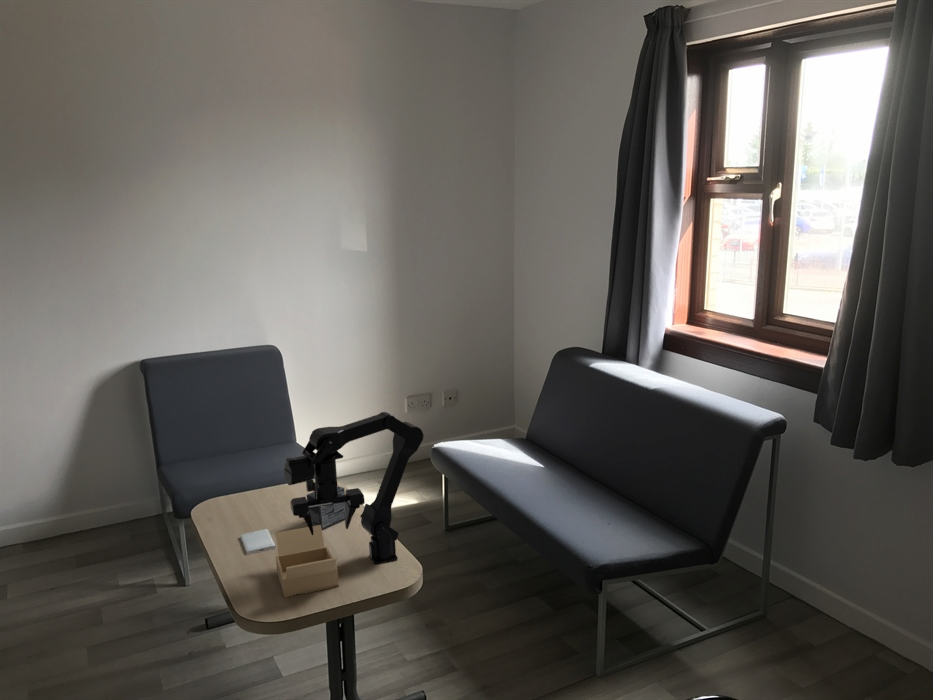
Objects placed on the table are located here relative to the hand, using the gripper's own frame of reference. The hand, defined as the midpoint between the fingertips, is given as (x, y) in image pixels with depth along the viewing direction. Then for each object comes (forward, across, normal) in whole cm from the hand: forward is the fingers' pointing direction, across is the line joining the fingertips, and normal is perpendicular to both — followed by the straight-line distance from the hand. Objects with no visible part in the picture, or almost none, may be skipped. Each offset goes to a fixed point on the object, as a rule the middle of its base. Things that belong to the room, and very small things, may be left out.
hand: (329, 531), depth 209 cm
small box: (+12, -5, -33) cm, 36 cm away
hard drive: (+13, +17, -27) cm, 35 cm away
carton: (+12, +7, +1) cm, 14 cm away
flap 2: (+5, +7, +10) cm, 13 cm away
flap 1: (+5, +7, -8) cm, 11 cm away
